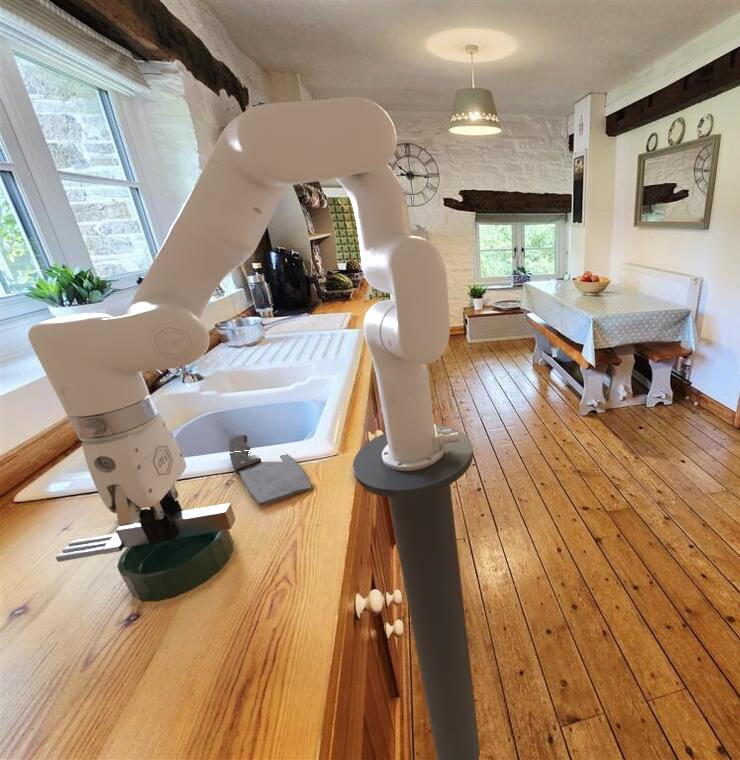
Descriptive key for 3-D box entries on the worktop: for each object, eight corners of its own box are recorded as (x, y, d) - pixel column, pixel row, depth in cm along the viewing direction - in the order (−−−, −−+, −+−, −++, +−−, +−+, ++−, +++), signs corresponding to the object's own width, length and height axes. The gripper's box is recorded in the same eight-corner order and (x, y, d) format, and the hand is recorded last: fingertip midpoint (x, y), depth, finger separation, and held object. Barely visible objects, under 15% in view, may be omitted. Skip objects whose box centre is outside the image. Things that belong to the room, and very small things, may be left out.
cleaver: (219, 449, 90) (216, 441, 89) (267, 432, 96) (265, 424, 95) (261, 513, 71) (257, 503, 70) (317, 486, 77) (315, 477, 76)
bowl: (245, 529, 67) (236, 505, 65) (217, 592, 56) (205, 564, 54) (159, 546, 64) (147, 521, 62) (112, 615, 53) (95, 587, 51)
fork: (237, 516, 61) (231, 500, 59) (229, 531, 58) (223, 514, 57) (74, 544, 56) (64, 527, 55) (57, 562, 53) (46, 545, 52)
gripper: (112, 444, 44) (173, 571, 51) (180, 387, 58) (220, 492, 65) (26, 456, 42) (101, 585, 49) (118, 394, 56) (166, 502, 63)
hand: (168, 531), depth 57 cm, fingers closed on fork, 2 cm apart
